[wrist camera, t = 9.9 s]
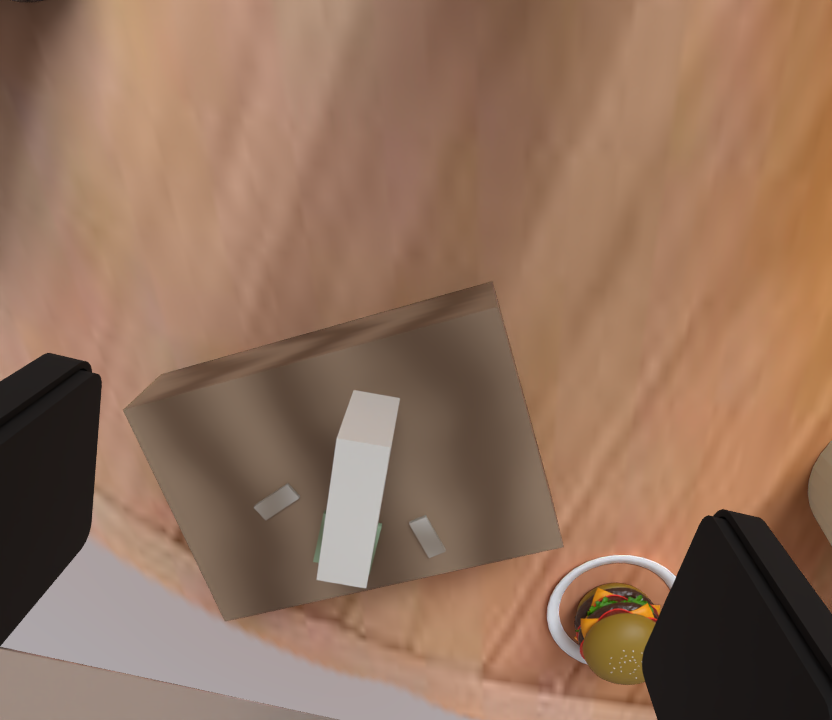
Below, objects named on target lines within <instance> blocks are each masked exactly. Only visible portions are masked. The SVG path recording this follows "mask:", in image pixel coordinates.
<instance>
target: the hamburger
mask: <svg viewBox="0 0 832 720" xmlns="http://www.w3.org/2000/svg"><path fill="white" fill-rule="evenodd" d="M611 563H628V564H634V565H639V566H641V567H644V568H647V569H649V570H651V571H652V572H654V573H656V574H657V575H658V576H659V577H661V578H662V579H663V580H664V581H665V583H666V584H667V585H668V587H669V588H670V590H671V588H672V585H673V583H674V581H675V578H676V576H675V575H674V574H673V573H671V572H670V571H669V570H668V569H667V568H665V567H663V566H662V565H660V564H658V563H657V562H654V561H651V560H649V559H646V558H643V557H637V556H631V555H612V556H606V557H600V558H597V559H594V560H591V561H588V562H586V563H584V564H582V565H580V566H578V567H576V568H575V569H573V570H572V571H571V572H570V573H568V574H567V575H566V576H564V578H563V579H562V580H561V581H560V582H559V583H558V584H557V586H556V587H555V589H554V591H553V593H552V594H551V596H550V600H549V603H548V607H547V622H548V627H549V630H550V632H551V635H552V637H553V639H554V640H555V642H556V643H557V644H558V645H559V647H560V648H561V649H562V650H563V651H565V652H566V653H567V654H568V655H569V656H571V657H572V658H574V659H576V660H578V661H580V662H581V663H584V664H587V665H588V666H589V667H590V669H591V670H592V671H593V672H594V673H595V674H596V675H597V676H599V677H600V678H602V679H604V680H606V681H609V682H612V683H616V684H623V685H633V684H640V683H643V682H645V679H644V676H643V672H642V657H643V652H644V649H645V646H646V644H647V642H648V639H649V637H650V635H651V633H652V630H653V628H654V626H655V624H656V621H657V619H658V617H659V615H660V605H654V604H653V603H652V602H651V600H650V599H649V598H648V597H647V596H646V595H645V594H644V593H643V592H642V591H640V590H639V589H637V588H635V587H633V586H631V585H627V584H623V583H608V584H604V585H601V586H598V587H596V588H594V589H593V590H591V591H590V592H588V593H587V594H586V595H585V596H584V597H583V599H582V600H581V601H580V603H579V606H578V608H577V612H576V616H575V623H574V624H575V628H576V630H575V631H576V632H577V633H576V636H575V637H574V639H575V640H577V641H578V642H579V645H578V644H576V643H575V642H574V641H573V640H572V639H571V638H570V637H569V636H568V635H567V634H566V632H565V631H564V629H563V627H562V625H561V623H560V618H559V604H560V601H561V598H562V595H563V593H564V592H565V590H566V588H567V587H568V586H569V585H570V584H571V582H572V581H573V580H574V579H576V578H577V577H578V576H579V575H581V574H582V573H584V572H586V571H588V570H590V569H592V568H595V567H598V566H601V565H605V564H611Z"/></svg>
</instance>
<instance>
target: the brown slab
mask: <svg viewBox="0 0 832 720" xmlns="http://www.w3.org/2000/svg"><path fill="white" fill-rule="evenodd" d="M354 390H357V391H362V392H368V393H374V394H379V395H385V396H391V397H396V398H400V401H399V407H398V413H397V418H396V424H395V430H394V436H393V441H392V447H391V453H390V458H389V464H388V470H387V476H386V481H385V487H384V493H383V499H382V504H381V510H380V516H379V522H378V527H377V533H376V538H375V543H374V549H373V554H372V560H371V565H370V571H369V576H368V582H367V587H366V588H360V587H354V586H348V585H343V584H337V583H331V582H325V581H320V580H317V573H318V566H319V559H320V552H321V545H322V538H323V531H324V524H325V517H326V510H327V503H328V496H329V488H330V481H331V474H332V467H333V460H334V453H335V446H336V439H337V436H338V433H339V430H340V427H341V424H342V422H343V419H344V416H345V413H346V410H347V408H348V405H349V402H350V399H351V396H352V393H353V391H354ZM123 411H124V413H125V415H126V417H127V419H128V421H129V423H130V425H131V428H132V430H133V432H134V434H135V436H136V438H137V440H138V442H139V444H140V446H141V448H142V450H143V452H144V455H145V457H146V459H147V461H148V463H149V465H150V467H151V469H152V471H153V473H154V475H155V477H156V479H157V481H158V484H159V486H160V488H161V490H162V492H163V494H164V496H165V498H166V500H167V502H168V504H169V506H170V508H171V510H172V513H173V515H174V517H175V519H176V521H177V523H178V525H179V527H180V529H181V531H182V533H183V535H184V537H185V540H186V542H187V544H188V546H189V548H190V550H191V552H192V554H193V556H194V558H195V560H196V562H197V564H198V566H199V569H200V571H201V573H202V575H203V577H204V579H205V581H206V583H207V585H208V587H209V589H210V591H211V593H212V595H213V598H214V600H215V602H216V604H217V606H218V608H219V610H220V612H221V614H222V616H223V618H224V620H225V621H230V620H234V619H239V618H243V617H248V616H252V615H257V614H261V613H266V612H270V611H275V610H280V609H284V608H289V607H293V606H298V605H302V604H307V603H311V602H316V601H321V600H325V599H330V598H334V597H339V596H343V595H348V594H352V593H357V592H361V591H366V590H371V589H375V588H380V587H384V586H389V585H393V584H398V583H402V582H407V581H411V580H416V579H421V578H425V577H430V576H434V575H439V574H443V573H448V572H452V571H457V570H462V569H466V568H471V567H475V566H480V565H484V564H489V563H493V562H498V561H502V560H507V559H512V558H516V557H521V556H525V555H530V554H534V553H539V552H543V551H548V550H552V549H557V548H562V547H564V546H563V542H562V537H561V533H560V529H559V525H558V521H557V517H556V513H555V509H554V504H553V500H552V496H551V493H550V489H549V485H548V482H547V478H546V475H545V471H544V467H543V464H542V460H541V456H540V453H539V449H538V445H537V442H536V438H535V434H534V431H533V427H532V423H531V420H530V416H529V413H528V409H527V405H526V402H525V398H524V394H523V391H522V387H521V383H520V380H519V376H518V372H517V369H516V365H515V362H514V358H513V354H512V351H511V347H510V343H509V340H508V336H507V332H506V329H505V325H504V321H503V318H502V314H501V311H500V307H499V303H498V300H497V296H496V292H495V289H494V285H493V281H492V282H489V283H485V284H482V285H478V286H474V287H471V288H467V289H464V290H460V291H457V292H453V293H450V294H446V295H442V296H439V297H435V298H432V299H428V300H425V301H421V302H418V303H414V304H410V305H407V306H403V307H400V308H396V309H393V310H389V311H386V312H382V313H379V314H375V315H371V316H368V317H364V318H361V319H357V320H354V321H350V322H347V323H343V324H339V325H336V326H332V327H329V328H325V329H322V330H318V331H315V332H311V333H307V334H304V335H300V336H297V337H293V338H290V339H286V340H283V341H279V342H275V343H272V344H268V345H265V346H261V347H258V348H254V349H251V350H247V351H243V352H240V353H236V354H233V355H229V356H226V357H222V358H219V359H215V360H212V361H208V362H204V363H201V364H197V365H194V366H190V367H187V368H183V369H180V370H176V371H172V372H169V373H165V374H162V375H160V376H159V377H158V378H157V379H156V380H155V381H154V382H153V383H152V384H150V385H149V386H148V387H147V388H146V389H145V390H144V391H143V392H142V393H141V394H140V395H139V396H138V397H136V398H135V399H134V400H133V401H132V402H131V403H130V404H129V405H128V406H127V407H126V408H125V409H123Z"/></svg>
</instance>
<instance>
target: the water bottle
mask: <svg viewBox="0 0 832 720" xmlns="http://www.w3.org/2000/svg"><path fill="white" fill-rule="evenodd" d="M12 1H18V2H36V1H42V0H12Z"/></svg>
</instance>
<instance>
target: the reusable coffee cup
mask: <svg viewBox="0 0 832 720" xmlns="http://www.w3.org/2000/svg"><path fill="white" fill-rule="evenodd" d="M808 498H809V505H810V508H811V510H812V512H813V515H814V517H815V519H816V520H817V522H818V524H819V525H820V527H821V529H822V530H823V532H824V534H825V536H826V537H827V539H828V541H829V542H830V544H831V546H832V441H831V442H830V443H829V444H828V446H827V447H826V448H825V449H824V450H823V452H822V453H821V454H820V456H819V457H818V459H817V461H816V463H815V464H814V466H813V469H812V472H811V475H810V478H809V484H808Z"/></svg>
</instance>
